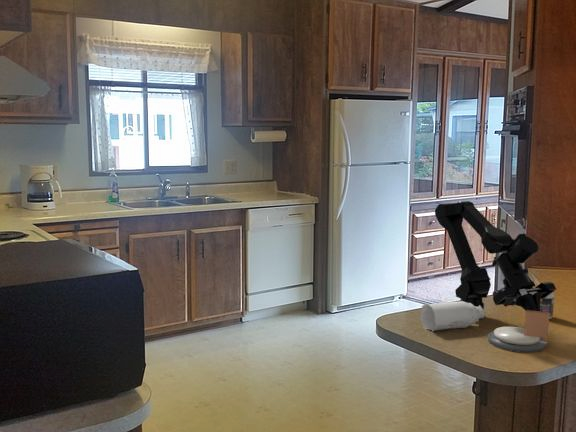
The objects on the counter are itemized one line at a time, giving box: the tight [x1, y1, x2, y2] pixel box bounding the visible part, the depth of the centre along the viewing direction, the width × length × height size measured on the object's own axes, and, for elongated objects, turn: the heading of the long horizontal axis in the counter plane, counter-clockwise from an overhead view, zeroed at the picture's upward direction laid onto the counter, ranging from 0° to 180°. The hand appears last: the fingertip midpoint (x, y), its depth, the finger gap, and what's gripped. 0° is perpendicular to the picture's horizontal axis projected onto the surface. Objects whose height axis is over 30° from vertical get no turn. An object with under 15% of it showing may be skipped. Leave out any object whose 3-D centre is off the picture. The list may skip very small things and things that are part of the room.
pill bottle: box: [540, 292, 555, 320], centre depth 195 cm, size 6×6×10 cm
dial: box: [493, 310, 550, 345], centre depth 170 cm, size 14×12×8 cm
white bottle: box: [420, 301, 486, 332], centre depth 184 cm, size 8×19×8 cm, turn 108°
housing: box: [487, 331, 548, 353], centre depth 171 cm, size 15×15×1 cm
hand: (538, 320), depth 170 cm, fingers closed
